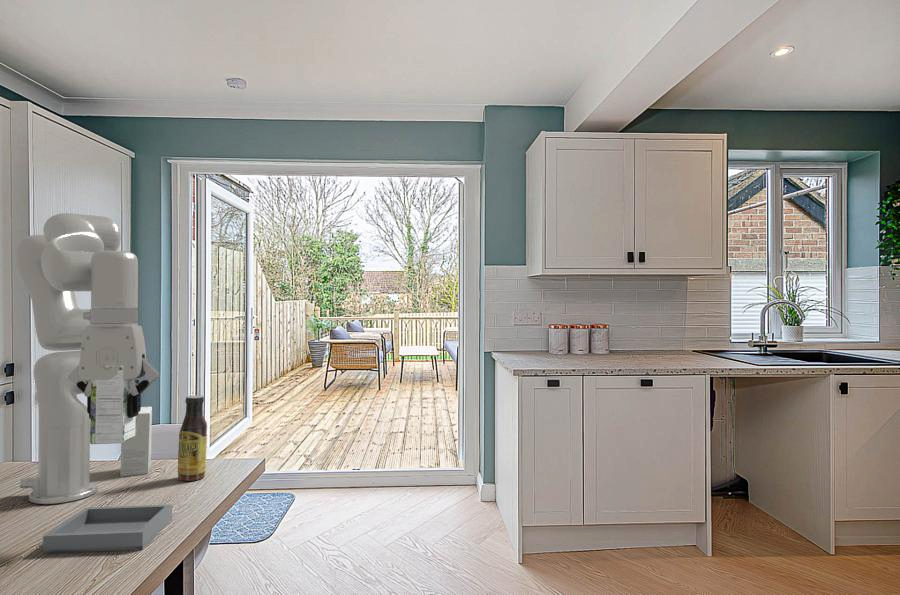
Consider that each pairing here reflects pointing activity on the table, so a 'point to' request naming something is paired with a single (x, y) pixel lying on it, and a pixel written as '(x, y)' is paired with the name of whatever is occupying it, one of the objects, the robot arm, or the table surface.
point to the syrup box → (111, 411)
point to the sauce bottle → (192, 441)
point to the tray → (108, 529)
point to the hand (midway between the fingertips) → (114, 415)
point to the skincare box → (138, 446)
